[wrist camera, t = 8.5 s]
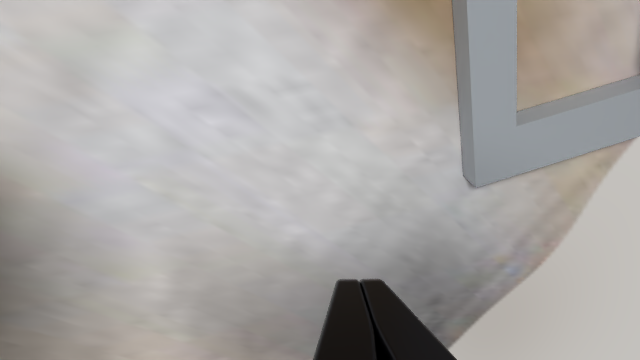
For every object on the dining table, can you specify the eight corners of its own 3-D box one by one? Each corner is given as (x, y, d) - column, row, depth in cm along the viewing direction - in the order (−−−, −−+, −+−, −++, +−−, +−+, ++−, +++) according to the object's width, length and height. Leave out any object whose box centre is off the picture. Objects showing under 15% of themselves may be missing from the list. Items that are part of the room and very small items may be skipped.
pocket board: (463, 175, 23) (475, 187, 22) (443, -148, 16) (459, -152, 15) (686, 105, 24) (708, 114, 23) (752, -224, 17) (787, -232, 16)
